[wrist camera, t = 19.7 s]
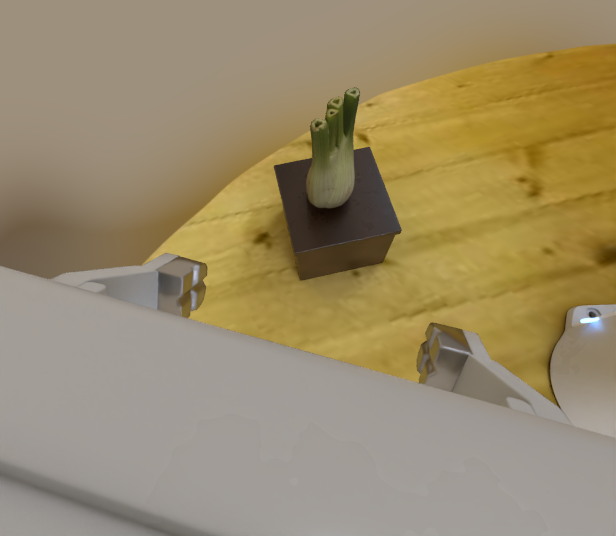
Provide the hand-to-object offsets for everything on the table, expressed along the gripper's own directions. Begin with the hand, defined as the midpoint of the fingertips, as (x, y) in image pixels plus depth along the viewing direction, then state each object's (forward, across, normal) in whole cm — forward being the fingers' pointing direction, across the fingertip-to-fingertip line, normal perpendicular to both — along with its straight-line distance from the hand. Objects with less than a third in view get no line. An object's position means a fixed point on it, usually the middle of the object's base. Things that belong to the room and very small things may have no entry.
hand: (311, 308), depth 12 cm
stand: (+34, +2, +7) cm, 35 cm away
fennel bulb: (+28, +3, +1) cm, 28 cm away
